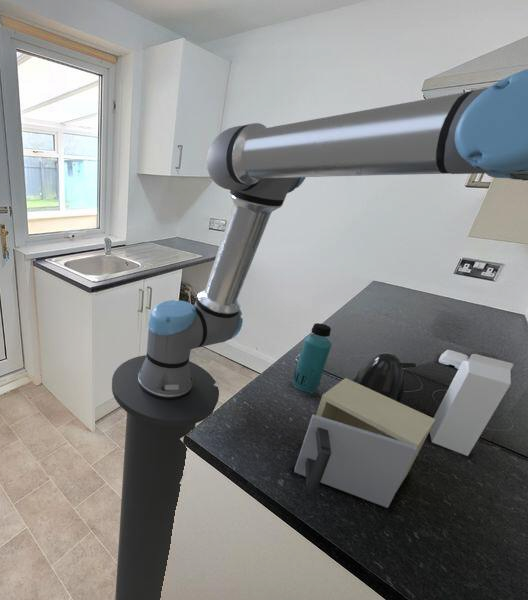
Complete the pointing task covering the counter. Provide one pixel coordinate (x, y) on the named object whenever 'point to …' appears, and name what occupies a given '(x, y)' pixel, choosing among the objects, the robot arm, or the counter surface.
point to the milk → (470, 402)
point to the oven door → (353, 460)
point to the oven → (375, 414)
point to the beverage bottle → (312, 359)
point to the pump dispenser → (384, 375)
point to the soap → (452, 358)
